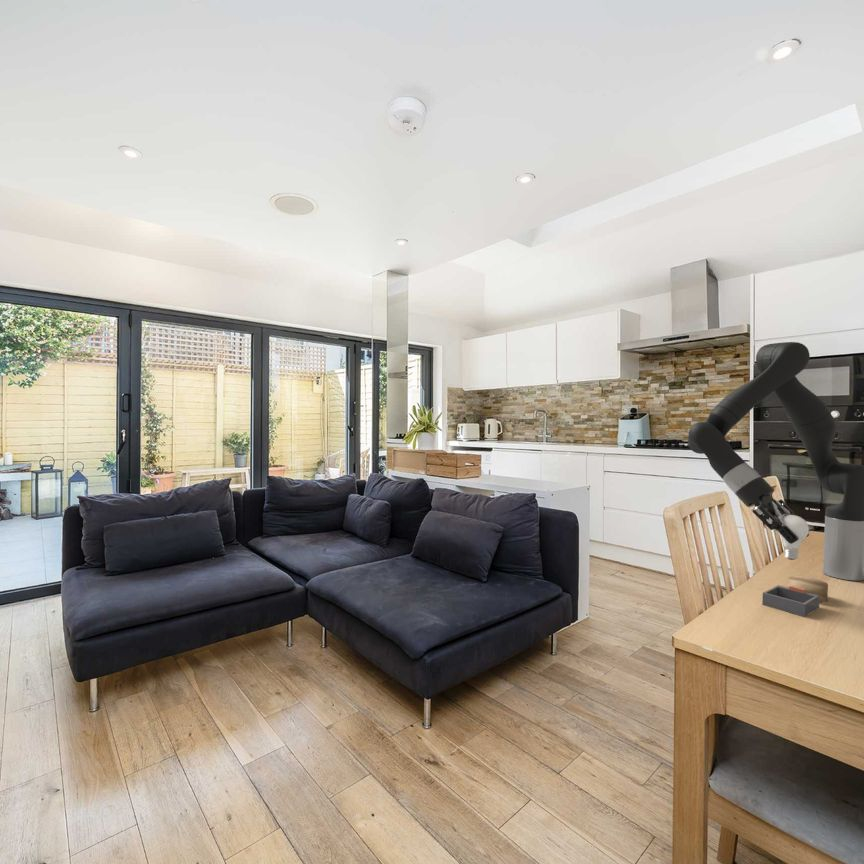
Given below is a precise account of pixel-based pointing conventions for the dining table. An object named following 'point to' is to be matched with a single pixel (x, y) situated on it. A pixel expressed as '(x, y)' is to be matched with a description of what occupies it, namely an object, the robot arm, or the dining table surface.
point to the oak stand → (810, 586)
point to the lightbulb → (799, 530)
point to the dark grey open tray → (791, 600)
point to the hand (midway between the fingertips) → (800, 539)
